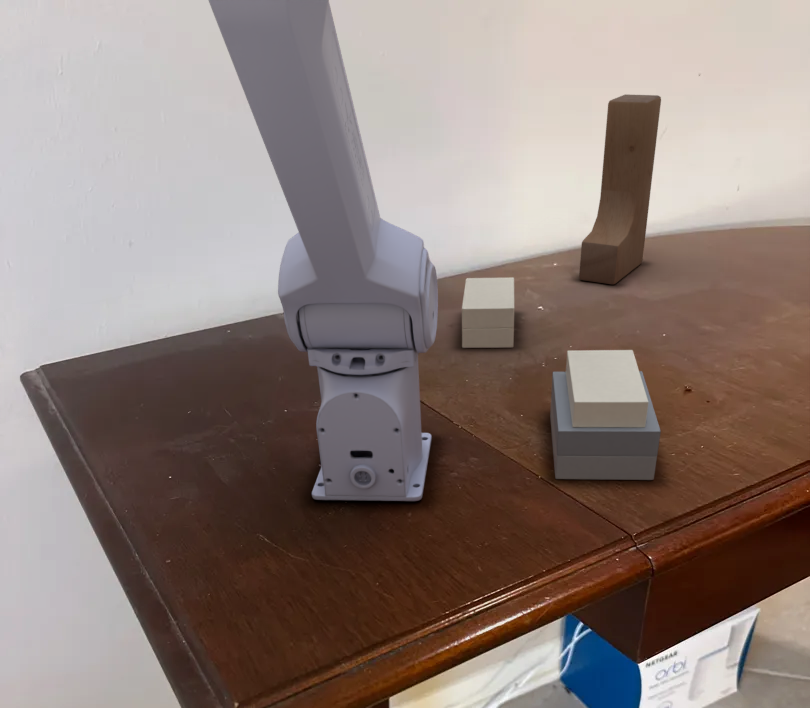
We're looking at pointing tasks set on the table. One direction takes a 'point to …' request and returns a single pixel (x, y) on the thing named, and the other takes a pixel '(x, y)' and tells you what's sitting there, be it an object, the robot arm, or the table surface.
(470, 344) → the white book
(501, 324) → the white book
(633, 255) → the wooden block
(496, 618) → the table surface
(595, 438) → the grey book
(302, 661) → the table surface
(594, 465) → the grey book
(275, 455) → the table surface
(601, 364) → the beige rectangular block
